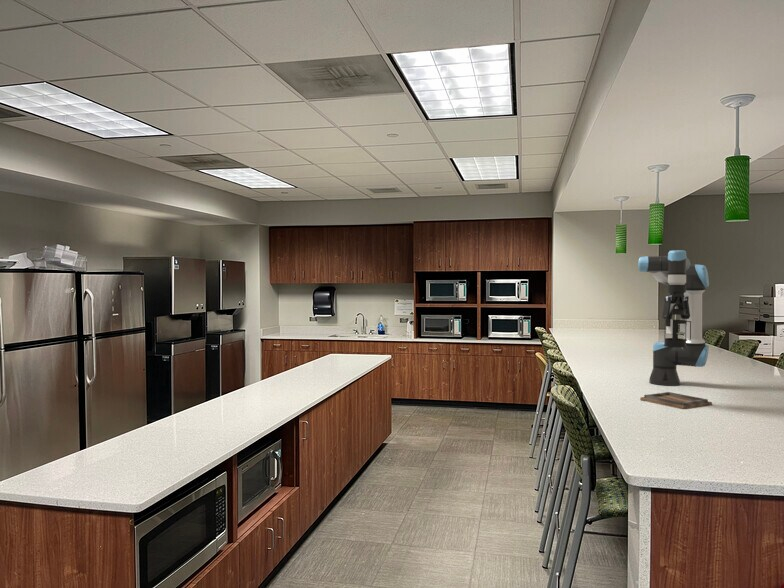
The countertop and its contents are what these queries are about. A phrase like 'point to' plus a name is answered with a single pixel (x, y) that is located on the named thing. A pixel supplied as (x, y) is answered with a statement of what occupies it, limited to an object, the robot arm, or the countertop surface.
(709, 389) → the countertop surface
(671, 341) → the french press
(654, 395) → the serving board
